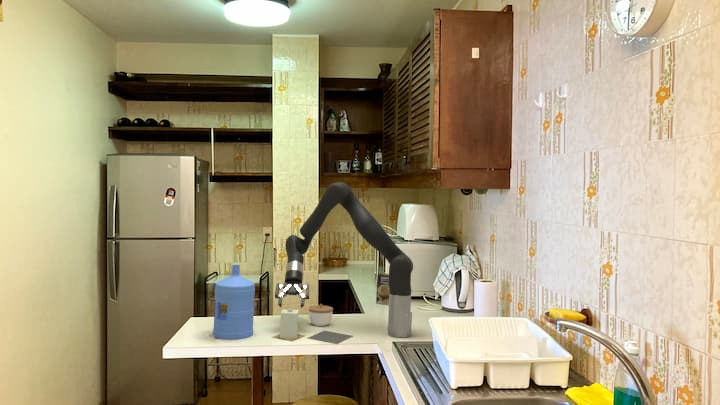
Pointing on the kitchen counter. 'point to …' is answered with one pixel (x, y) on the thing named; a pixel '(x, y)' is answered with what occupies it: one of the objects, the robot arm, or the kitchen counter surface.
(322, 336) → the mat
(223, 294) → the water jug
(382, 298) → the coffee box
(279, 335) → the coaster
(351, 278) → the kitchen counter surface
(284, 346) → the kitchen counter surface
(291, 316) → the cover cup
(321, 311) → the lidded jar
